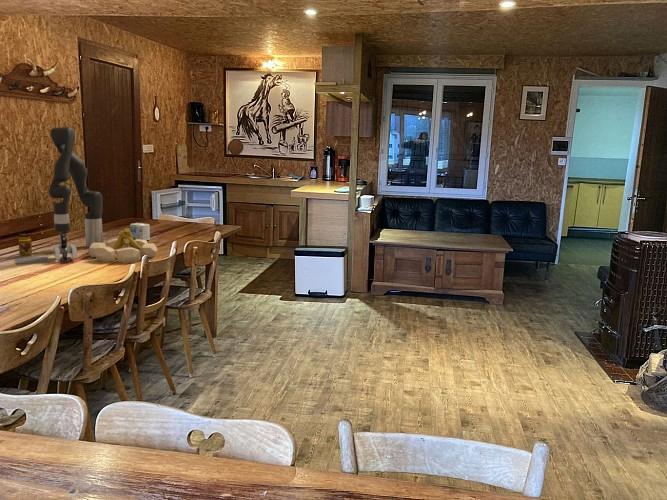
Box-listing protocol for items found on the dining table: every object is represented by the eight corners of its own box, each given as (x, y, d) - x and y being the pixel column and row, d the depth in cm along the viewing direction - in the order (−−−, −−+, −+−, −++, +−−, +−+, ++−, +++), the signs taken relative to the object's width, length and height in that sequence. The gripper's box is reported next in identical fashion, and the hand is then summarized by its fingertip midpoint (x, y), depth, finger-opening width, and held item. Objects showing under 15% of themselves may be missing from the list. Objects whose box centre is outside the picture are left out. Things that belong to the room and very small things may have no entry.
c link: (53, 253, 295) (53, 244, 294) (74, 252, 300) (73, 243, 299) (56, 259, 283) (55, 250, 282) (77, 257, 288) (76, 248, 287)
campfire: (126, 266, 284) (125, 234, 281) (75, 259, 295) (74, 228, 292) (168, 254, 316) (167, 225, 313) (121, 248, 327) (120, 220, 324)
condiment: (25, 257, 292) (24, 235, 290) (13, 256, 294) (11, 234, 292) (36, 255, 299) (35, 233, 296) (24, 253, 301) (22, 232, 299)
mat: (47, 257, 296) (47, 256, 296) (49, 262, 285) (49, 261, 285) (15, 259, 288) (15, 258, 288) (16, 264, 277) (16, 263, 277)
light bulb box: (130, 240, 352) (129, 223, 349) (137, 238, 358) (136, 222, 355) (143, 242, 348) (142, 225, 346) (150, 240, 354) (150, 224, 352)
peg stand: (68, 260, 291) (68, 247, 289) (69, 261, 287) (68, 248, 286) (60, 260, 289) (59, 247, 287) (61, 262, 285) (60, 249, 284)
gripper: (71, 223, 289) (73, 255, 293) (68, 219, 300) (70, 250, 304) (55, 224, 285) (57, 256, 289) (53, 220, 296) (55, 251, 300)
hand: (64, 253), depth 296 cm, fingers closed on c link
